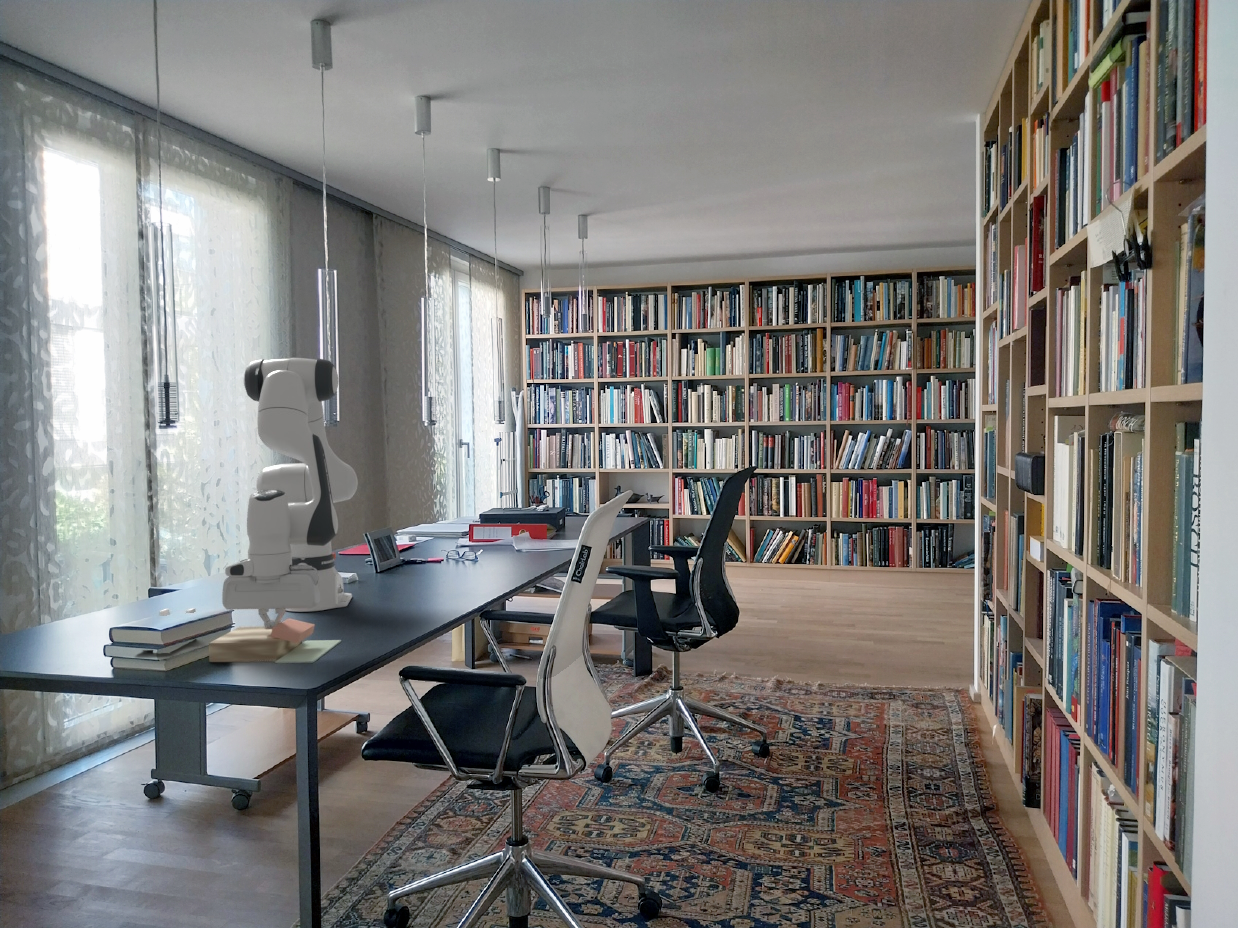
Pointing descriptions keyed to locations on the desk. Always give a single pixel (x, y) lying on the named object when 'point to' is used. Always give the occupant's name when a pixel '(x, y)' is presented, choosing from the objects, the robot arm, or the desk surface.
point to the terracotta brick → (292, 630)
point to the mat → (308, 651)
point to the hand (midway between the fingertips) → (272, 628)
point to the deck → (249, 646)
